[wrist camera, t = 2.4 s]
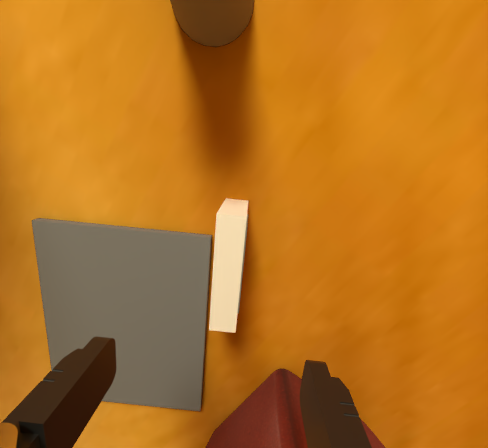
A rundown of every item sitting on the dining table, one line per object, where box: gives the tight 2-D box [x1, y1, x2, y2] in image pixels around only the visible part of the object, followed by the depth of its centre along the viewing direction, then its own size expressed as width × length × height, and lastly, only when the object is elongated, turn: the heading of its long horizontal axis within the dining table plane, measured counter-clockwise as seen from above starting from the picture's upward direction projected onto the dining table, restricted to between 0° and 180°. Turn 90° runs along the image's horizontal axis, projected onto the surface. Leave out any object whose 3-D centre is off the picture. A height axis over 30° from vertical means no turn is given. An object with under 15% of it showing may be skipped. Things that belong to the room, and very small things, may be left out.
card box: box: [209, 198, 248, 333], centre depth 21 cm, size 9×2×6 cm, turn 175°
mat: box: [32, 218, 212, 411], centre depth 26 cm, size 20×16×1 cm
